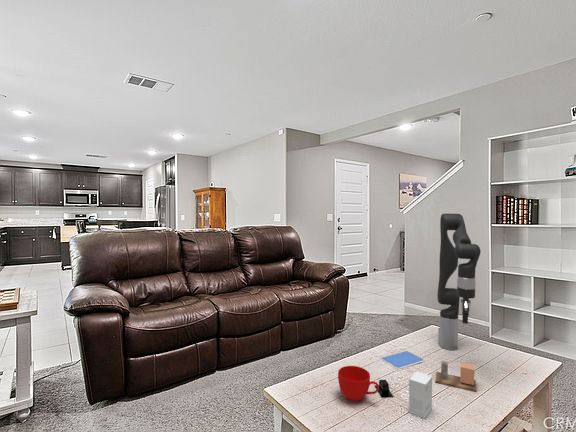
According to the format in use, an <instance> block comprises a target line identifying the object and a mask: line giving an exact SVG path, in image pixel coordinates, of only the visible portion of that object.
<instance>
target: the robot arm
mask: <svg viewBox="0 0 576 432" xmlns="http://www.w3.org/2000/svg"><path fill="white" fill-rule="evenodd" d="M439 219H440V221H439V222H440V223H439V224H440V226H439V228H440V229H439V230H440V232H439V233H440V245H439V246H440V247H439V250H440V251H439V271H438V272H439V273H438V274H439V276H438V286H437V301H438V304H440V305H445V306H448V305H449V307H446V308H443V309H441V310H440V312H439V327H438V332H437V333H438V337H437V338H438V339H437V340H438V341H437V344H438V345H439V347H440V348H441V349H444V350H448V351H456V350H458V347H459V314H460V313H459V312H460V308H461V311H462V312H461V315H462V317H461V318H462V321H461V322H462V323H463V324H465V325H466V324H469V316H470V314H469V313H470V311H471V303H472V302H471V300H470V299H474V298H476V268H477V263H478V261H479V259H480V256H481V247H480V246H479V245H478V244H476V243H472V241H471V238H470V237H469V236H470V235H469V234H468V231H467V227H466V224H465V219H464V217H463V216H462V214H461V213H442V214H441V216H440V218H439ZM448 231H454V232H453V234H452V241H453V243H454V245H455V246H454V245H453V243H452V242H451V240H450V237H449V235H448ZM459 259H460V260H461V259H462V260H468V262H463V263H459ZM455 271H457V280H456V288H455V287H446V286H447V283H448V281H449V279H450V278H451V276H452V275H453V274H454V273H455ZM460 298H461V299H460ZM460 305H461V306H460Z"/></svg>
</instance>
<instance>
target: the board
mask: <svg viewBox="0 0 576 432" xmlns="http://www.w3.org/2000/svg"><path fill="white" fill-rule="evenodd" d="M448 367H449V363H448V362H447V361H444V360H443V361H442V360H441V363H440V371H441V372H438V371H436V372H435V380H434V381H435V384H438V385H443V386H446V387H447V386H448V387H451V388H456V389H459V390H460V389H461V390H466V391H469V392H473V393H477V391H478V390H477V383H476V380H475V379H474V385H472V384H470V385H468V384H464V383H463V382H460V376H458V375H453V374H449V371H448V369H449V368H448Z"/></svg>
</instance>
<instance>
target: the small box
mask: <svg viewBox="0 0 576 432" xmlns="http://www.w3.org/2000/svg"><path fill="white" fill-rule="evenodd" d="M408 382H409V383H408V412H409V413H410V414H413V415H415V416H417V417H420V418H422V419H426V418H427V417H428V415H430V412H431V410H432V408H433V375H430V374H426V373H425V372H424V373H423V372H421V371H415V372H414V373H413V374H412V375H411V376H410V378H409V379H408Z"/></svg>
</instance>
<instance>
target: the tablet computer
mask: <svg viewBox="0 0 576 432" xmlns="http://www.w3.org/2000/svg"><path fill="white" fill-rule="evenodd" d="M379 360H381V361H382V362H383V363H385V364H388V366H390V367H392V368H394V369H396V370H398V371H399V370H402V369H404V368H408V367H412V366H415V365H418V364H421V363H425V362H426V360H425V359H424V358H422V357H420V356H418V355H416V354H413V353H412V352H409V351H408V350H405V351H402V352H398V353H394V354H391V355H387V356H384V357H380V359H379Z"/></svg>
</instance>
